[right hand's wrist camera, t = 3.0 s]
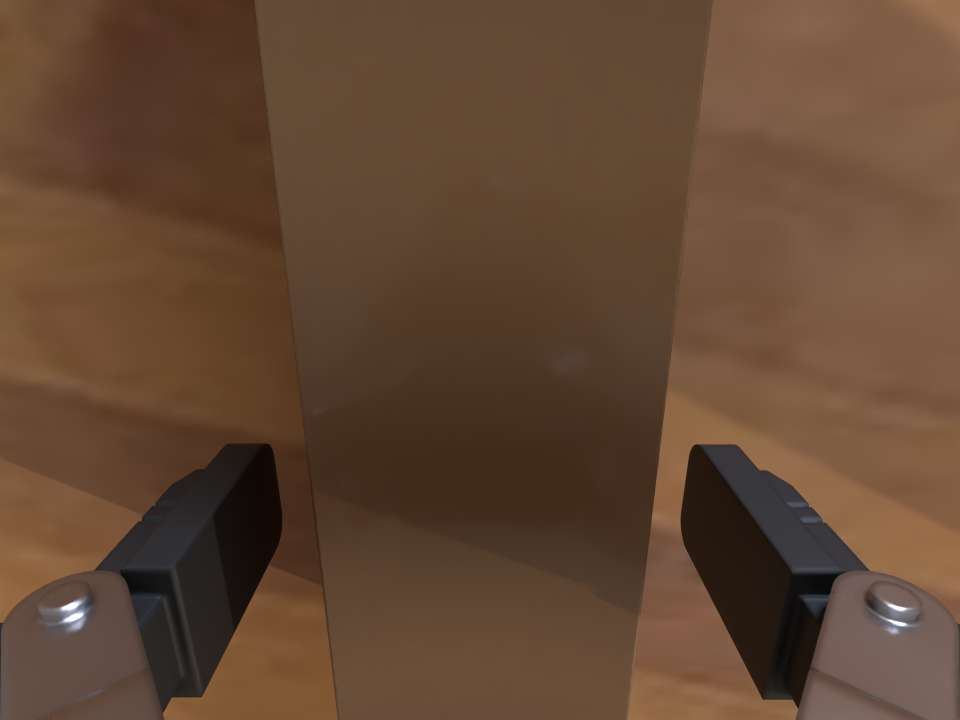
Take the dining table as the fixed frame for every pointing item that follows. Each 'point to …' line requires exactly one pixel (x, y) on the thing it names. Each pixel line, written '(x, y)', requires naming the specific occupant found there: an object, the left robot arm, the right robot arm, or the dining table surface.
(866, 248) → the dining table surface
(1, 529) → the dining table surface
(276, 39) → the beam
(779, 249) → the dining table surface
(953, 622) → the right robot arm
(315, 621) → the dining table surface
